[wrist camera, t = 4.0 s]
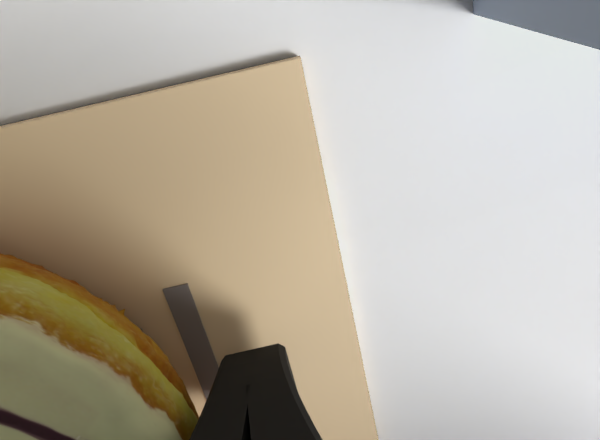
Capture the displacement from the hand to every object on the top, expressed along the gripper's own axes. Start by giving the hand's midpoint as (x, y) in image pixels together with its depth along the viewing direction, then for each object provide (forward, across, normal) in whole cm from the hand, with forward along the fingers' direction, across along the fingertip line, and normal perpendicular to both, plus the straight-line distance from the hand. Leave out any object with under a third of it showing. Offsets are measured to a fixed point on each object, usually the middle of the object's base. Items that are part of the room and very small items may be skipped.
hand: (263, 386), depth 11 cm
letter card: (+1, +2, 0) cm, 3 cm away
